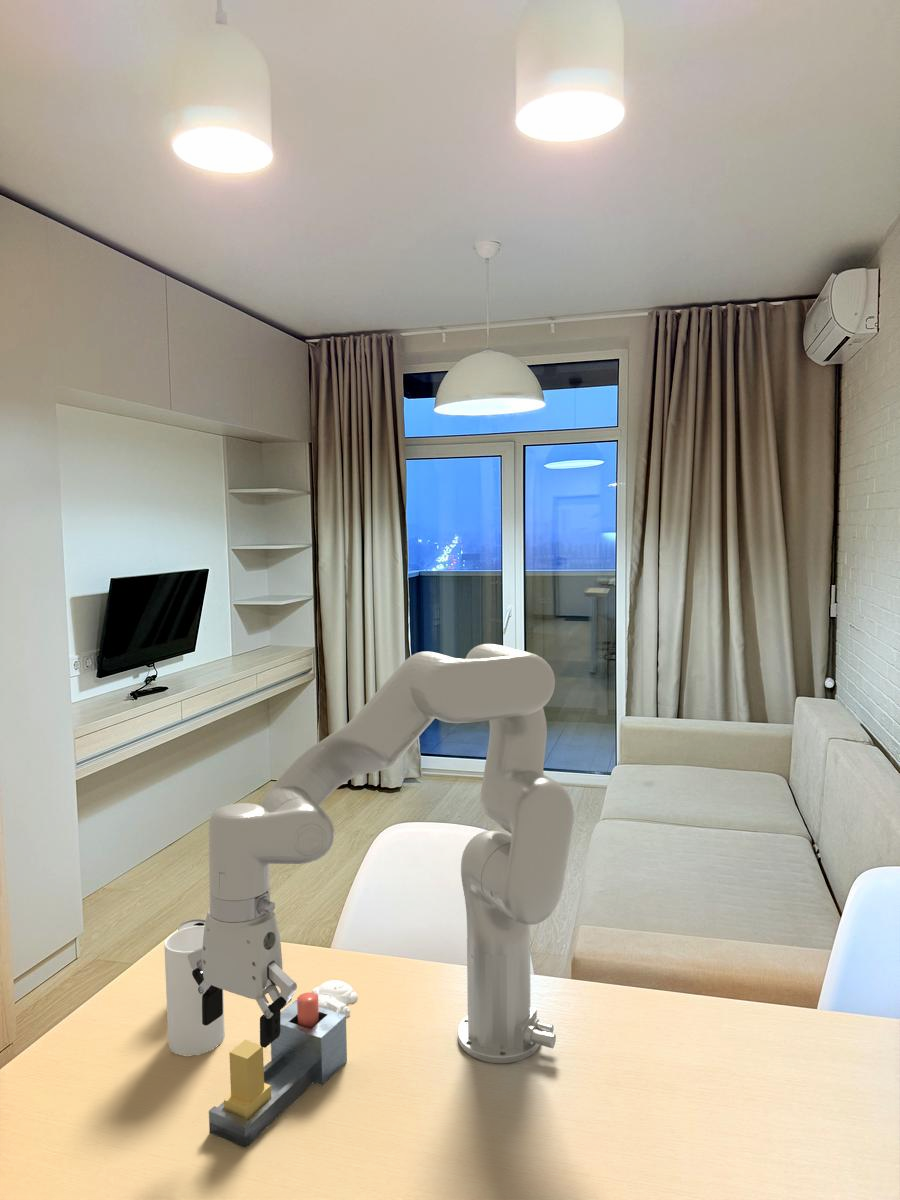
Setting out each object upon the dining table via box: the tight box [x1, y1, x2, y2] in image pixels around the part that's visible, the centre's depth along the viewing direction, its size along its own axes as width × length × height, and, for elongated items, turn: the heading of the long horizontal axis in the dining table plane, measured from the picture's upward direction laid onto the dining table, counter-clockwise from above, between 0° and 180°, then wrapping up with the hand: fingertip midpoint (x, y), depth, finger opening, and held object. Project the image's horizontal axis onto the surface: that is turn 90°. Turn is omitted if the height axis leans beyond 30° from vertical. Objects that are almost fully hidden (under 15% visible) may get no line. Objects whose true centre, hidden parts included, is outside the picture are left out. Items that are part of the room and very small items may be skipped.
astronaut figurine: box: [311, 979, 359, 1018], centre depth 135 cm, size 9×12×3 cm
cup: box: [163, 926, 226, 1057], centre depth 126 cm, size 8×8×16 cm
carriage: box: [223, 1039, 271, 1120], centre depth 109 cm, size 4×5×8 cm
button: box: [296, 992, 319, 1029], centre depth 120 cm, size 3×3×5 cm
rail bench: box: [208, 999, 348, 1150], centre depth 114 cm, size 9×20×7 cm, turn 152°
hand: (240, 1030), depth 108 cm, fingers open, 9 cm apart
